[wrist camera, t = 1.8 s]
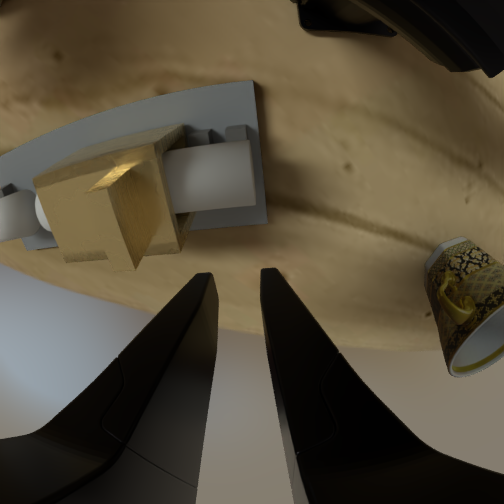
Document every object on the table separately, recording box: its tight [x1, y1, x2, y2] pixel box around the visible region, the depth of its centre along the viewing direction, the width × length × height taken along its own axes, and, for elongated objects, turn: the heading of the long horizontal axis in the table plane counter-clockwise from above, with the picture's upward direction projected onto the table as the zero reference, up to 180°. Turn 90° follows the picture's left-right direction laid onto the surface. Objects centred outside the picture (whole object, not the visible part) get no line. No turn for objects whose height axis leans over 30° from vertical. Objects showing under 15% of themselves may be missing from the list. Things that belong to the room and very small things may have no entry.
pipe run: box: [0, 80, 268, 251], centre depth 17 cm, size 24×10×6 cm, turn 96°
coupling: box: [32, 123, 197, 272], centre depth 15 cm, size 8×6×8 cm
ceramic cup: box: [425, 237, 504, 377], centre depth 19 cm, size 13×10×10 cm
